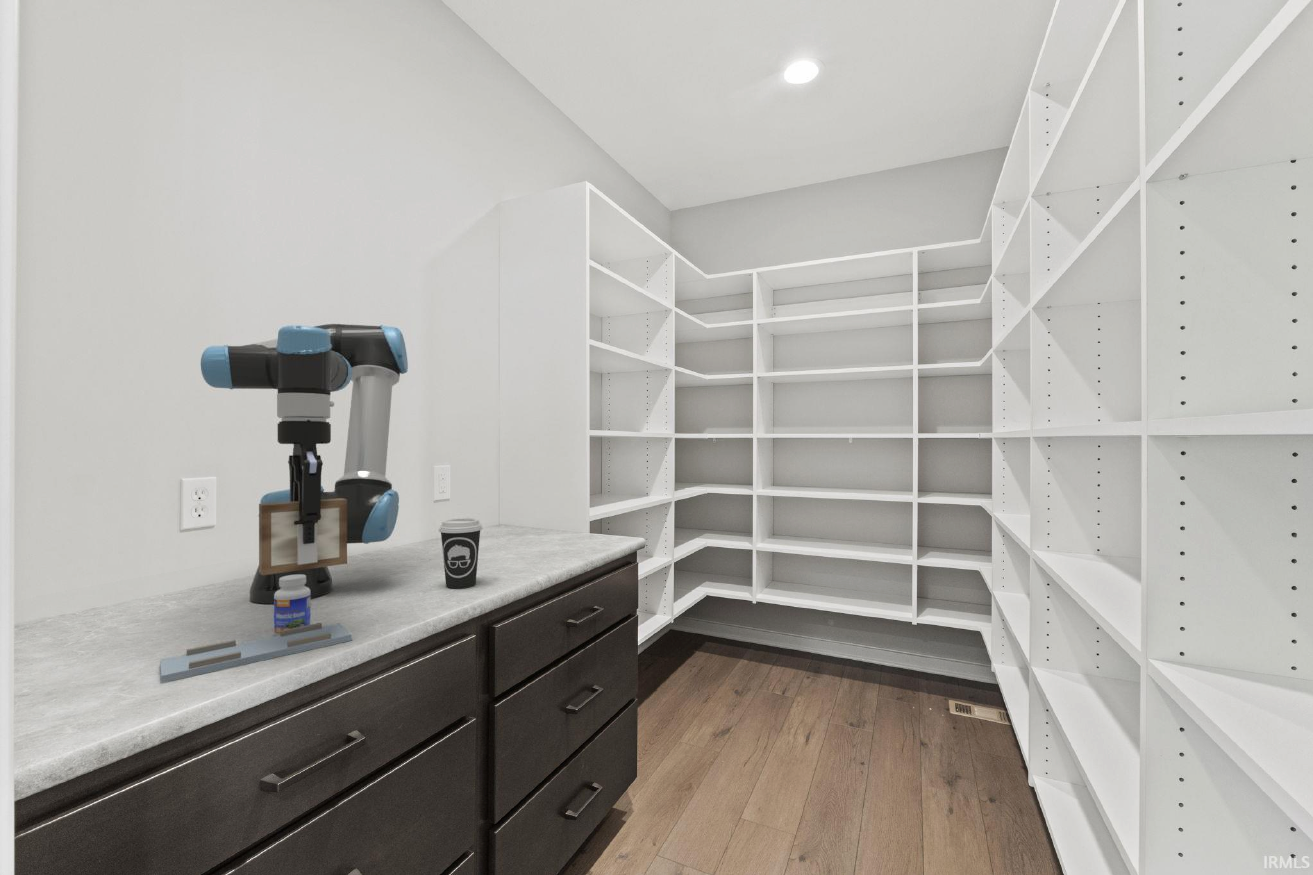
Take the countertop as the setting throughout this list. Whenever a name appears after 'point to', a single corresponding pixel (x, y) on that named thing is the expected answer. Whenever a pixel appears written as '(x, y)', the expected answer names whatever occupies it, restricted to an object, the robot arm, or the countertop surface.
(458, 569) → the coffee cup
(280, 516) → the frame
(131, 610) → the countertop surface
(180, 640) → the countertop surface
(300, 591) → the pill bottle
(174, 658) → the ledge
